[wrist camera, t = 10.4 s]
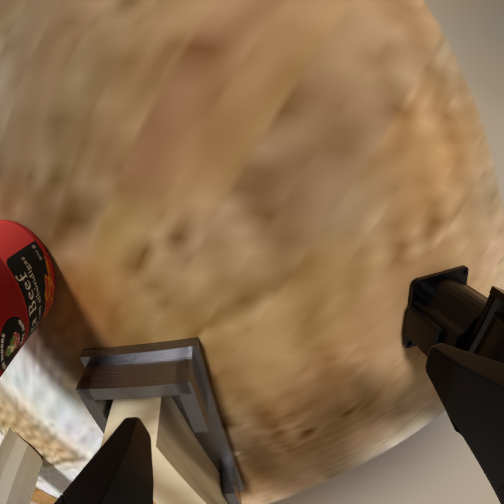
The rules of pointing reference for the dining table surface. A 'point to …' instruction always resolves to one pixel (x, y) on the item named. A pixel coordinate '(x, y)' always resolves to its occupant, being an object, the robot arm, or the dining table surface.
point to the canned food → (22, 287)
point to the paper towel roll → (17, 469)
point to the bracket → (162, 393)
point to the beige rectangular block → (171, 452)
